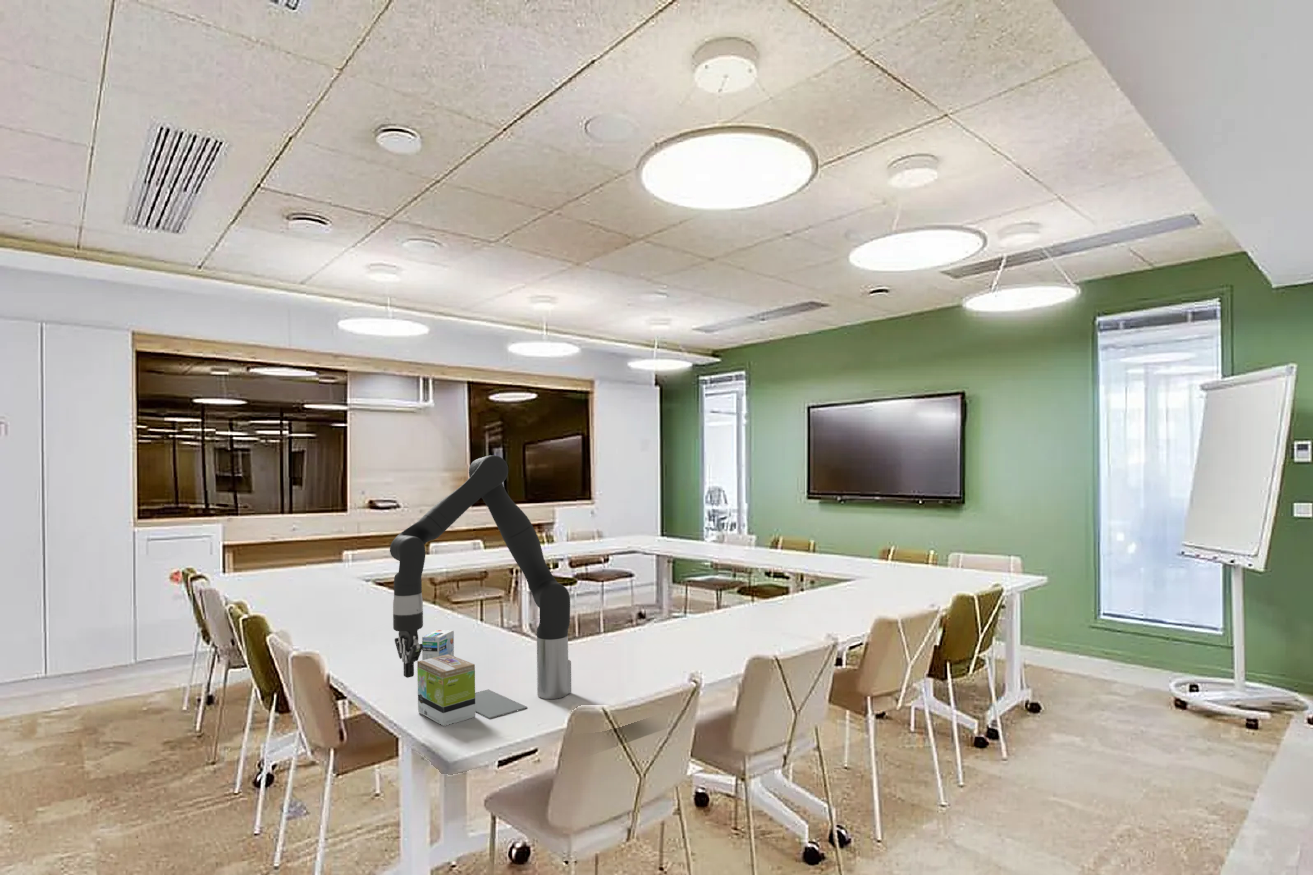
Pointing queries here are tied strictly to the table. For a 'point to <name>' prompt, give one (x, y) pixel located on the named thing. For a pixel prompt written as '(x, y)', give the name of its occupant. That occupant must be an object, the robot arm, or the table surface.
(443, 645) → the light bulb box
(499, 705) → the mat
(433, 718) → the tea box
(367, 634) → the table surface
